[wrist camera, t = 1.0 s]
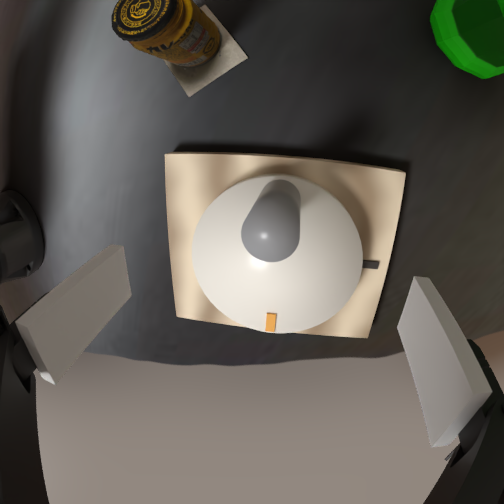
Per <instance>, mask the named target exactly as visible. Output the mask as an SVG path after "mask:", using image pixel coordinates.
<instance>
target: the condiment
mask: <svg viewBox="0 0 504 504" xmlns="http://www.w3.org/2000/svg"><path fill="white" fill-rule="evenodd" d="M112 28H113V30H114V31H115V33H116V34H117V35H118V37H120V38H122V40H127V41H129V42H130V43H131V44H132V46H133V47H135V48H136V49H138V50H140V51H143V52H145V53H148V54H151V55H154V56H156V57H159V58H161V59H163V60H164V62H165V63H166V65H167V66H168V68H169V69H170V70H171V72H172V74H173V75H174V76H175V78H176V79H177V80H178V82H179V83H180V85H181V86H182V88H183V89H184V91H185V92H186V93H187V95H188V96H189V97H190V96H192V95H193V94H194V93H196V92H198V91H199V90H200V89H202V88H203V87H205V86H206V85H207V84H209V83H211V82H212V81H213V80H215V79H216V78H218V77H219V76H221V75H223V74H224V73H225V72H227V71H228V70H230V69H231V68H233V67H234V66H236V65H238V64H239V63H241V62H242V61H244V60H245V59H247V58H248V57H247V56H246V54H245V53H244V52H243V50H242V49H241V48H240V47H239V45H238V44H237V43H236V42H235V40H234V39H233V38H232V36H231V35H230V34H229V33H228V31H227V30H226V29H225V28H224V26H223V25H222V24H221V23H220V22H219V20H218V19H217V18H216V17H215V16H214V14H213V13H212V12H211V11H210V10H209V9H208V7H207V6H206V5H203V6H202V7H200V8H199V7H198V6H197V5H196V4H195V3H194V2H193V1H192V0H119V1H118V2H117V4H116V6H115V8H114V11H113V14H112ZM219 51H221V53H219ZM220 54H221V56H220V57H219V55H220Z"/></svg>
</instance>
